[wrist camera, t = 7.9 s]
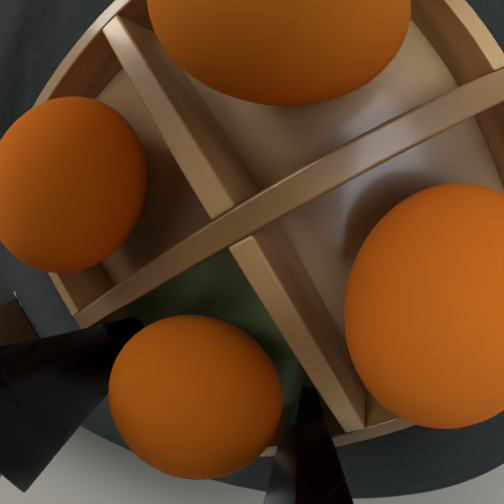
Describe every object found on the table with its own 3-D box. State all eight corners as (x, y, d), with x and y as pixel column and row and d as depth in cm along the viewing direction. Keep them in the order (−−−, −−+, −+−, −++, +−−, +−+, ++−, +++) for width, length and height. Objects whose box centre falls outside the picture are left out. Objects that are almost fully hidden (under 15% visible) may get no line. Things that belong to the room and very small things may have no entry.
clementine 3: (319, 382, 8) (295, 510, 4) (211, 407, 10) (159, 498, 6) (245, 260, 8) (148, 369, 4) (139, 315, 9) (49, 392, 5)
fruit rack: (530, 301, 6) (565, 341, 4) (214, 416, 12) (191, 458, 9) (327, -65, 4) (317, -113, 2) (51, 156, 10) (4, 164, 7)
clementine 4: (507, 295, 6) (582, 396, 2) (379, 359, 8) (382, 495, 3) (465, 145, 5) (594, 148, 1) (312, 225, 7) (268, 328, 3)
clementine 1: (208, 195, 8) (72, 246, 3) (115, 264, 9) (13, 324, 5) (137, 74, 7) (8, 51, 3) (63, 161, 9) (-40, 183, 5)
